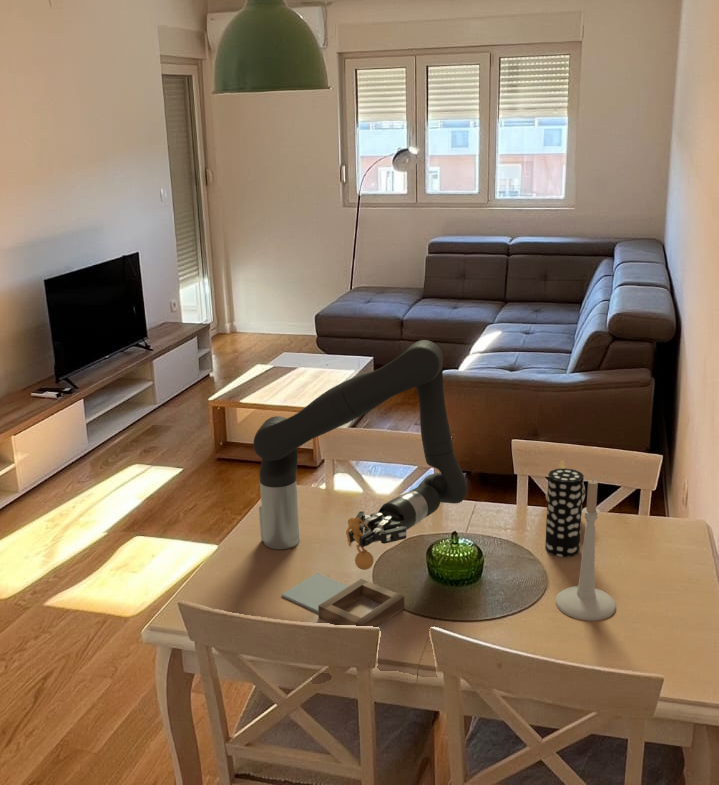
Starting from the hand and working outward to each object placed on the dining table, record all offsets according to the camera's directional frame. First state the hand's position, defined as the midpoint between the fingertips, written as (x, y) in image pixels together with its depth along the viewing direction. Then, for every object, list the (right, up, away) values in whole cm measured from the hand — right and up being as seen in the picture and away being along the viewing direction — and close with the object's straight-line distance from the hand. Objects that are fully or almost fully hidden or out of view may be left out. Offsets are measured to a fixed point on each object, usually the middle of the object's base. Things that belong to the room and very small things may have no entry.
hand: (355, 540), depth 183 cm
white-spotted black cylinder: (+52, -8, +32) cm, 61 cm away
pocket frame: (+1, -17, +7) cm, 18 cm away
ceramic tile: (-8, -15, +15) cm, 22 cm away
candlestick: (+51, -16, +8) cm, 54 cm away
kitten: (+56, -3, +47) cm, 73 cm away
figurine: (+1, -6, +3) cm, 7 cm away
